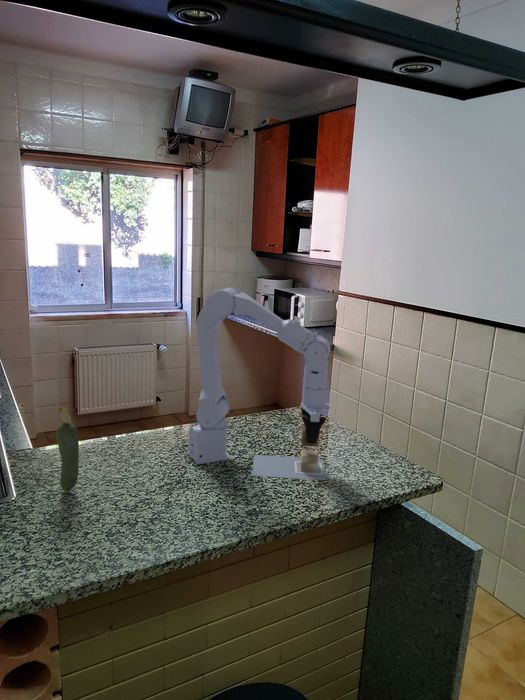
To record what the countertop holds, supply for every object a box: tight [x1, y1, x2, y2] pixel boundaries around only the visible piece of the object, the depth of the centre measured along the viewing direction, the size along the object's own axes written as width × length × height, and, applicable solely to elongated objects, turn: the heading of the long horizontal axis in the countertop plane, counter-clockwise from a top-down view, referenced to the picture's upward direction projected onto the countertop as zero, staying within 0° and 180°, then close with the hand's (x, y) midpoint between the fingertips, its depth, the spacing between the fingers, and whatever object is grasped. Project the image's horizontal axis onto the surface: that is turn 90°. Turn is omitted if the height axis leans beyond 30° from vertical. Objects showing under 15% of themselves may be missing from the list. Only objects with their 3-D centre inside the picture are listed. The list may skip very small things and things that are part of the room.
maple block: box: [300, 449, 319, 472], centre depth 126 cm, size 4×4×4 cm
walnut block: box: [300, 424, 321, 448], centre depth 125 cm, size 4×4×4 cm
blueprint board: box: [251, 454, 327, 481], centre depth 127 cm, size 18×12×1 cm, turn 88°
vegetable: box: [55, 406, 80, 494], centre depth 108 cm, size 4×4×20 cm
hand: (310, 439), depth 125 cm, fingers closed on walnut block, 4 cm apart
